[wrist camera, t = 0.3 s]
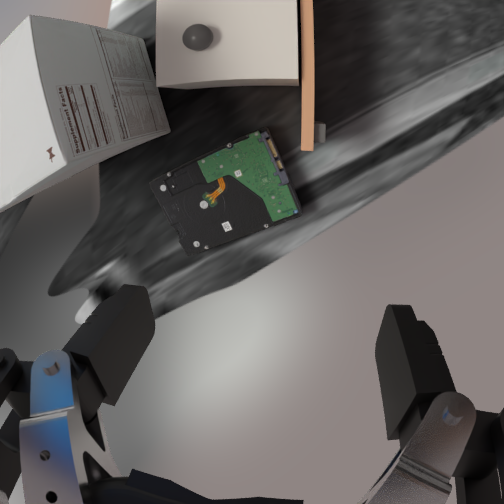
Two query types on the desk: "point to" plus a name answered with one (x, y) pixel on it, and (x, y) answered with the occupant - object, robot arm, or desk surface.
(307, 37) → the door
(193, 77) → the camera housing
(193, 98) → the desk surface
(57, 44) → the supplement box
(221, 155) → the disk drive
